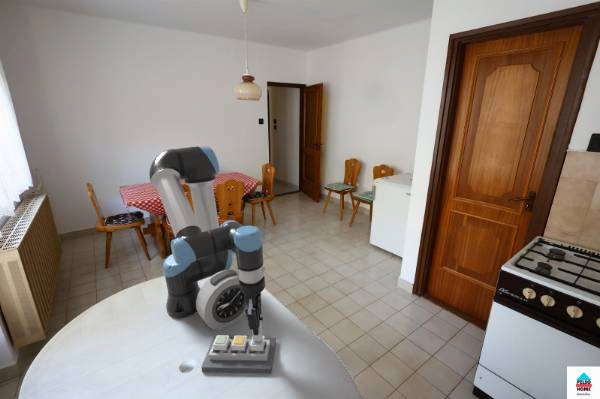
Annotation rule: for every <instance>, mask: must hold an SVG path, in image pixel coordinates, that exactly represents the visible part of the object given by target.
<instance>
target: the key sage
mask: <svg viewBox="0 0 600 399" xmlns="http://www.w3.org/2000/svg"><path fill="white" fill-rule="evenodd" d="M215 337H216V339H215V342H214V344H213V348H214V350H226V349H227V346H228V343H229V337H230V336H229V335H227V334H226V335H224V334H222V335H221V334H220V335H219V334H217V335H216V336H215Z"/></svg>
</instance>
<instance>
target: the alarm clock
mask: <svg viewBox="0 0 600 399" xmlns="http://www.w3.org/2000/svg"><path fill="white" fill-rule="evenodd" d="M196 309H197V313H198V315H199V316H200V318H201V319H202V320H203V322H204V323H205V324H206V325H207V326H208V327H209V328H210V329H212V330H214V331H219V330H221V329H223V328H225V327H226V326H228V325H230V324H232V323H234V322H235V321H237V320H238V319H240V318H242V317H245V315H246V313H245V310H246V309H247V302H246V295H245V294H243V293H242V292H241V290H240V284H239V277H238V270H235V269H229V270H224V271H221V272H218V273H216V274H215V275H213V276H211V277H208V278H207V280H205V282H204V284H203V285H201V287H200V291H199V293H198V296H197V299H196ZM246 316H247V315H246Z"/></svg>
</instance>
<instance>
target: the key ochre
mask: <svg viewBox="0 0 600 399" xmlns="http://www.w3.org/2000/svg"><path fill="white" fill-rule="evenodd" d="M247 337H248V336H247V335H234V339H233V342H232V350H245V347H246V343H247Z"/></svg>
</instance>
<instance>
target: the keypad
mask: <svg viewBox="0 0 600 399" xmlns="http://www.w3.org/2000/svg"><path fill="white" fill-rule="evenodd" d="M216 337H217V336H214V337H213V338H212V340H211V342H210V345H209V348H208V350H207V352H206V356H204V357H205V358H204V359H203V361H202V365H201V373H233V374H234V373H235V374H236V373H238V374H242V373H243V374H272V371H273V366H274V365H273V364H274V358H275V351H276V345H277V338H276V337H265V343H264V348H263V351H251V349H250V344H251V340H252V336H247V343H246V347H245V350H232V342H233V339H234V337H233V336H229V343H228V346H227V349H226V350H214V348H213V344H214V342H215V339H216Z"/></svg>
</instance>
